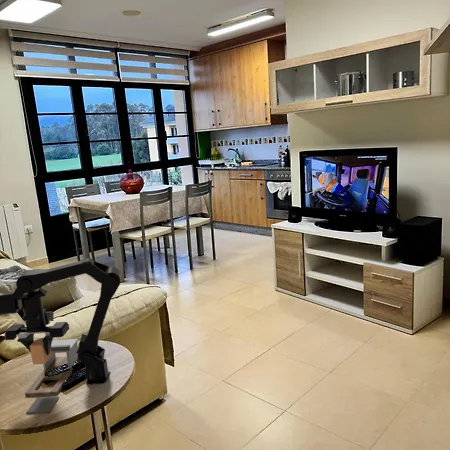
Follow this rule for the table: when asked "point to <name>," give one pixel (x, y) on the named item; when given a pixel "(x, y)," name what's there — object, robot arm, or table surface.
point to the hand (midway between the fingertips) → (41, 354)
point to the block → (39, 352)
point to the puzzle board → (60, 377)
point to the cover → (64, 346)
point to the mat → (42, 405)
